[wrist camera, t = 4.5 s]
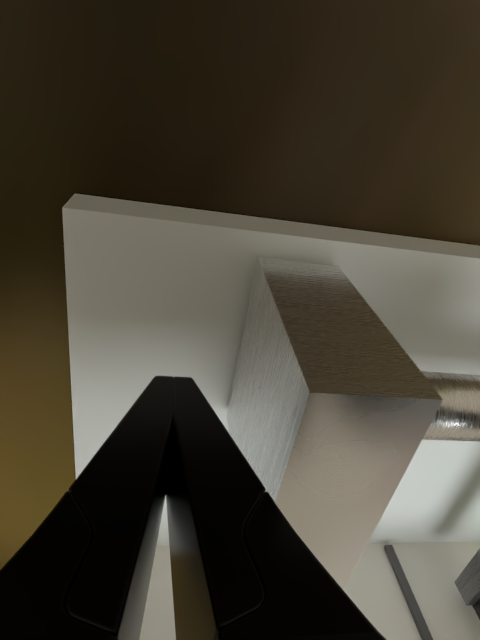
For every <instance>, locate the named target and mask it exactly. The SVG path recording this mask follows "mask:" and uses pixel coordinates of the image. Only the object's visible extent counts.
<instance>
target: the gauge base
mask: <svg viewBox="0 0 480 640" xmlns="http://www.w3.org/2000/svg"><path fill="white" fill-rule="evenodd" d="M62 215H63V235H64V255H65V274H66V294H67V314H68V334H69V353H70V373H71V393H72V413H73V432H74V452H75V472H76V479H77V477H78V476H79V475H80V473H81V472H82V471H83V469H84V468H85V467H86V466H87V464H88V463H89V462H90V460H91V459H92V458H93V456H94V455H95V454H96V452H97V451H98V450H99V448H100V447H101V446H102V445H103V443H104V442H105V441H106V439H107V438H108V437H109V435H110V434H111V433H112V431H113V430H114V429H115V427H116V426H117V425H118V424H119V422H120V421H121V420H122V418H123V417H124V416H125V414H126V413H127V412H128V410H129V409H130V408H131V407H132V405H133V404H134V403H135V401H136V400H137V399H138V397H139V396H140V395H141V393H142V392H143V391H144V389H145V388H146V387H147V386H148V384H149V383H150V382H151V380H152V379H153V378H154V377H155V376H173V377H175V376H178V377H191V378H193V380H194V381H195V383H196V384H197V386H198V387H199V389H200V390H201V392H202V393H203V395H204V396H205V398H206V399H207V401H208V402H209V404H210V405H211V407H212V408H213V410H214V411H215V413H216V414H217V416H218V417H219V419H220V420H221V422H222V423H223V425H224V426H225V428H226V429H227V431H228V425H227V417H226V416H227V411H228V406H229V400H230V395H231V390H232V385H233V380H234V375H235V369H236V364H237V359H238V354H239V349H240V344H241V338H242V333H243V328H244V323H245V318H246V313H247V308H248V302H249V297H250V292H251V287H252V282H253V277H254V271H255V266H256V261H257V257H266V258H275V259H283V260H292V261H301V262H310V263H319V264H328V265H337V266H339V267H340V269H341V270H342V271H343V272H344V274H345V275H346V276H347V278H348V279H349V280H350V281H351V283H352V284H353V285H354V287H355V288H356V289H357V290H358V292H359V293H360V294H361V295H362V297H363V298H364V299H365V301H366V302H367V303H368V304H369V306H370V307H371V308H372V310H373V311H374V312H375V313H376V315H377V316H378V317H379V318H380V320H381V321H382V322H383V324H384V325H385V326H386V327H387V329H388V330H389V331H390V332H391V334H392V335H393V336H394V338H395V339H396V340H397V341H398V343H399V344H400V345H401V347H402V348H403V349H404V350H405V352H406V353H407V354H408V355H409V357H410V358H411V359H412V361H413V362H414V363H415V364H416V366H417V367H418V368H419V370H420V371H426V372H441V373H456V374H471V375H480V246H478V245H470V244H463V243H455V242H447V241H439V240H432V239H424V238H416V237H408V236H401V235H393V234H385V233H377V232H370V231H362V230H354V229H346V228H339V227H331V226H323V225H315V224H308V223H300V222H292V221H284V220H277V219H269V218H261V217H253V216H246V215H238V214H230V213H222V212H215V211H207V210H199V209H191V208H184V207H176V206H168V205H160V204H153V203H145V202H137V201H129V200H122V199H114V198H106V197H98V196H91V195H83V194H74V195H73V196H72V197H71V198H70V199H69V200H68V202H67V203H66V204H65V205H64V206H63V207H62ZM479 549H480V442H477V441H448V440H422V441H421V443H420V445H419V447H418V448H417V450H416V452H415V454H414V456H413V458H412V460H411V462H410V464H409V466H408V468H407V469H406V471H405V473H404V475H403V477H402V479H401V481H400V483H399V485H398V487H397V489H396V490H395V492H394V494H393V496H392V498H391V500H390V502H389V504H388V506H387V508H386V509H385V511H384V513H383V515H382V517H381V519H380V521H379V523H378V525H377V527H376V529H375V530H374V532H373V534H372V536H371V538H370V540H369V542H368V544H367V546H366V548H365V550H364V551H363V553H362V555H361V557H360V559H359V561H358V563H357V565H356V567H355V569H354V570H353V572H352V574H351V576H350V578H349V580H348V582H347V584H346V586H345V588H344V589H343V590H344V591H345V593H346V594H347V595H348V596H349V597H350V599H351V600H352V601H353V602H354V603H355V605H356V606H357V607H358V608H359V609H360V611H361V612H362V613H363V614H364V615H365V617H366V618H367V619H368V620H369V621H370V622H371V624H372V625H373V626H374V627H375V628H376V629H377V630H378V631H379V632H380V633H381V634H382V635H383V636H384V637H385V638H386V639H387V640H480V619H479V618H478V616H477V614H476V612H475V610H474V608H473V606H472V605H470V606H466V604H465V602H464V600H463V598H462V596H461V594H460V592H459V590H458V588H457V587H456V585H455V583H454V582H455V580H456V579H457V578H458V576H459V575H460V574H461V572H462V571H463V570H464V569H465V567H466V566H467V565H468V563H469V562H470V561H471V559H472V558H473V557H474V555H475V554H476V553H477V551H478V550H479ZM139 640H176V633H175V618H174V604H173V590H172V575H171V561H170V547H169V532H168V518H167V503H166V496H165V501H164V507H163V512H162V518H161V523H160V529H159V534H158V540H157V545H156V551H155V556H154V562H153V567H152V573H151V578H150V584H149V589H148V595H147V600H146V606H145V611H144V617H143V622H142V627H141V633H140V638H139Z"/></svg>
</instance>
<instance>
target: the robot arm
mask: <svg viewBox="0 0 480 640" xmlns="http://www.w3.org/2000/svg"><path fill="white" fill-rule="evenodd" d="M265 491H266V489H265V487H264V485H263V484H262V482H261V481H260V479H259V478H258V476H257V475H256V473H255V472H254V470H253V469H252V467H251V466H250V464H249V463H248V461H247V460H246V458H245V457H244V455H243V454H242V452H241V451H240V449H239V448H238V446H237V445H236V443H235V442H234V440H233V439H232V437H231V436H230V434H229V432H228V431H227V429H226V428H225V426H224V425H223V423H222V422H221V420H220V419H219V417H218V416H217V414H216V413H215V411H214V410H213V408H212V407H211V405H210V404H209V402H208V401H207V399H206V398H205V396H204V395H203V393H202V392H201V390H200V389H199V387H198V386H197V384H196V383H195V381H194V380H193V378H191V377H178V376H175V377H173V376H155V377H154V378H153V379H152V380H151V382H150V383H149V384H148V386H147V387H146V388H145V389H144V391H143V392H142V393H141V395H140V396H139V397H138V399H137V400H136V401H135V403H134V404H133V405H132V407H131V408H130V409H129V410H128V412H127V413H126V414H125V416H124V417H123V418H122V420H121V421H120V422H119V424H118V425H117V426H116V427H115V429H114V430H113V431H112V433H111V434H110V435H109V437H108V438H107V439H106V441H105V442H104V443H103V445H102V446H101V447H100V448H99V450H98V451H97V452H96V454H95V455H94V456H93V458H92V459H91V460H90V462H89V463H88V464H87V466H86V467H85V468H84V469H83V471H82V472H81V473H80V475H79V476H78V477H77V479H76V480H75V481H74V483H73V484H72V485H71V487H70V488H69V491H67V492H66V493H65V494H64V495H63V497H62V498H61V499H60V501H59V502H58V503H57V505H56V506H55V507H54V509H53V510H52V511H51V512H50V514H49V515H48V516H47V517H46V518H45V520H44V521H43V522H42V523H41V525H40V526H39V527H38V528H37V530H36V531H35V532H34V533H33V534H32V536H31V537H30V538H29V539H28V540H27V541H26V542H25V543H24V544H23V546H22V547H21V548H20V549H19V550H18V551H17V552H16V553H15V554H14V556H13V557H12V558H11V559H10V560H9V561H8V562H7V563H6V564H5V565H4V566H3V568H2V569H1V570H0V640H139V638H140V633H141V627H142V622H143V617H144V611H145V606H146V600H147V595H148V589H149V584H150V578H151V573H152V567H153V562H154V556H155V551H156V545H157V540H158V534H159V529H160V523H161V518H162V512H163V507H164V501H165V496H166V503H167V518H168V532H169V547H170V561H171V575H172V590H173V604H174V618H175V633H176V640H387V639H386V638H385V637H384V636H383V635H382V634H381V633H380V632H379V631H378V630H377V629H376V628H375V627H374V626H373V625H372V624H371V622H370V621H369V620H368V619H367V618H366V617H365V615H364V614H363V613H362V612H361V611H360V609H359V608H358V607H357V606H356V605H355V603H354V602H353V601H352V600H351V599H350V597H349V596H348V595H347V594H346V593H345V591H344V590H343V589H342V588H341V587H340V586H339V584H338V583H337V582H336V581H335V580H334V578H333V577H332V576H331V575H330V574H329V572H328V571H327V570H326V569H325V568H324V566H323V565H322V564H321V563H320V562H319V560H318V559H317V558H316V557H315V556H314V554H313V553H312V552H311V551H310V549H309V548H308V547H307V546H306V544H305V543H304V542H303V541H302V539H301V538H300V537H299V536H298V534H297V533H296V532H295V530H294V529H293V528H292V526H291V525H290V523H289V522H288V521H287V519H286V518H285V516H284V515H283V514H282V512H281V511H280V509H279V508H278V506H277V505H276V503H275V502H274V500H273V499H272V497H271V496H270V494H269V493H268V492H265Z"/></svg>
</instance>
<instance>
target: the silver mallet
mask: <svg viewBox="0 0 480 640" xmlns="http://www.w3.org/2000/svg"><path fill="white" fill-rule="evenodd" d="M226 417H227V425H228V432H229V434H230V436H231V437H232V439H233V440H234V442H235V443H236V445H237V446H238V448H239V449H240V451H241V452H242V454H243V455H244V457H245V458H246V460H247V461H248V463H249V464H250V466H251V467H252V469H253V470H254V472H255V473H256V475H257V476H258V478H259V479H260V481H261V482H262V484H263V485H264V487H265V489H266V491H265V492H268V493H269V494H270V496H271V497H272V499H273V500H274V502H275V503H276V505H277V506H278V508H279V509H280V511H281V512H282V514H283V515H284V516H285V518H286V519H287V521H288V522H289V523H290V525H291V526H292V528H293V529H294V530H295V532H296V533H297V534H298V536H299V537H300V538H301V539H302V541H303V542H304V543H305V544H306V546H307V547H308V548H309V549H310V551H311V552H312V553H313V554H314V556H315V557H316V558H317V559H318V560H319V562H320V563H321V564H322V565H323V566H324V568H325V569H326V570H327V571H328V572H329V574H330V575H331V576H332V577H333V578H334V580H335V581H336V582H337V583H338V584H339V586H340V587H341V588H342V589H344V588H345V586H346V584H347V582H348V580H349V578H350V576H351V574H352V572H353V570H354V569H355V567H356V565H357V563H358V561H359V559H360V557H361V555H362V553H363V551H364V550H365V548H366V546H367V544H368V542H369V540H370V538H371V536H372V534H373V532H374V530H375V529H376V527H377V525H378V523H379V521H380V519H381V517H382V515H383V513H384V511H385V509H386V508H387V506H388V504H389V502H390V500H391V498H392V496H393V494H394V492H395V490H396V489H397V487H398V485H399V483H400V481H401V479H402V477H403V475H404V473H405V471H406V469H407V468H408V466H409V464H410V462H411V460H412V458H413V456H414V454H415V452H416V450H417V448H418V447H419V445H420V443H421V441H422V440H448V441H477V442H480V375H471V374H456V373H441V372H426V371H420V370H419V368H418V367H417V366H416V364H415V363H414V362H413V361H412V359H411V358H410V357H409V355H408V354H407V353H406V352H405V350H404V349H403V348H402V347H401V345H400V344H399V343H398V341H397V340H396V339H395V338H394V336H393V335H392V334H391V332H390V331H389V330H388V329H387V327H386V326H385V325H384V324H383V322H382V321H381V320H380V318H379V317H378V316H377V315H376V313H375V312H374V311H373V310H372V308H371V307H370V306H369V304H368V303H367V302H366V301H365V299H364V298H363V297H362V295H361V294H360V293H359V292H358V290H357V289H356V288H355V287H354V285H353V284H352V283H351V281H350V280H349V279H348V278H347V276H346V275H345V274H344V272H343V271H342V270H341V269H340V267H339V266H337V265H328V264H319V263H310V262H301V261H292V260H283V259H275V258H266V257H257V261H256V266H255V271H254V277H253V282H252V287H251V292H250V297H249V302H248V308H247V313H246V318H245V323H244V328H243V333H242V338H241V344H240V349H239V354H238V359H237V364H236V369H235V375H234V380H233V385H232V390H231V395H230V400H229V406H228V411H227V416H226ZM454 583H455V585H456V587H457V588H458V590H459V592H460V594H461V596H462V598H463V600H464V602H465V604H466V606H470V605H472V606H473V608H474V610H475V612H476V614H477V616H478V618H479V619H480V549H479V550H478V551H477V553H476V554H475V555H474V557H473V558H472V559H471V561H470V562H469V563H468V565H467V566H466V567H465V569H464V570H463V571H462V572H461V574H460V575H459V576H458V578H457V579H456V580H455V582H454Z"/></svg>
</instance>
